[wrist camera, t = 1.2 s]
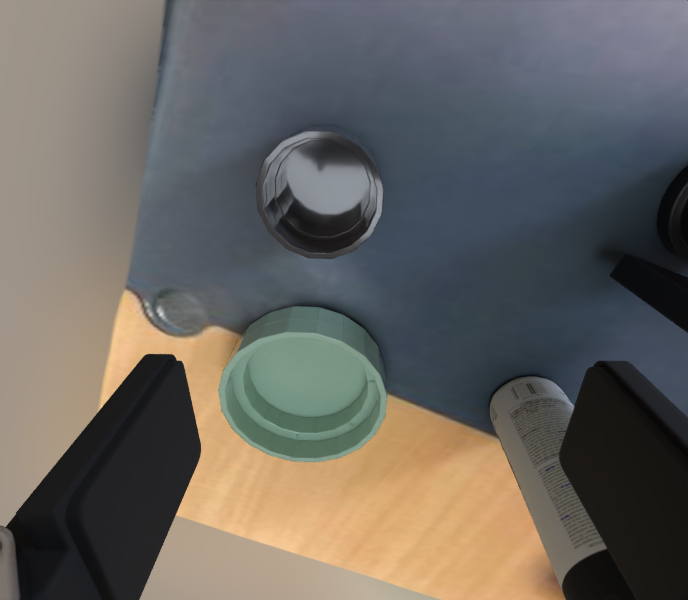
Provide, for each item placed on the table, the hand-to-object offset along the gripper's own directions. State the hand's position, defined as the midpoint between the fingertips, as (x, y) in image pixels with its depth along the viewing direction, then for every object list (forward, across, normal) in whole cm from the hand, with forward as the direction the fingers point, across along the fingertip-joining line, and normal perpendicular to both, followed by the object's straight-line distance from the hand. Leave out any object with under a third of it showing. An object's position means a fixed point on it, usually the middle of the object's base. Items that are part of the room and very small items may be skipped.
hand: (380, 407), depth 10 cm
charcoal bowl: (+21, +3, -1) cm, 21 cm away
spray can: (+22, -15, +18) cm, 32 cm away
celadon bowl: (+21, +4, +15) cm, 26 cm away
